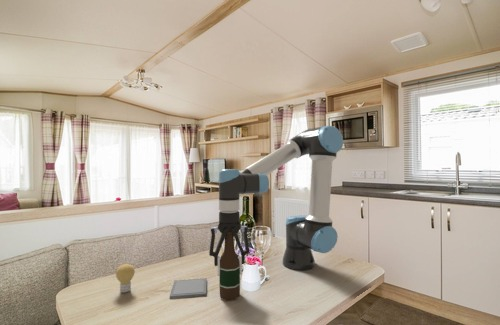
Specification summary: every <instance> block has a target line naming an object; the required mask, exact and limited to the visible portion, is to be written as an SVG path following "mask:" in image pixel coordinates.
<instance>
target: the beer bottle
mask: <svg viewBox="0 0 500 325" xmlns="http://www.w3.org/2000/svg"><path fill="white" fill-rule="evenodd" d="M232 234H233V232H232V231H227V236H226V237H225V239H224V246H223V252H222V253H221V255H220V276H218V277H219V280H218V281H219V296H220V300H224V301H227V302H228V301H229V302H230V301H235V300H236V299H238V298H239V297H240V296H241V278H240V277H241V274H240V263H239V255H238V254H237V253H236V250H235V237H233V236H232Z"/></svg>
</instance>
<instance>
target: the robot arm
mask: <svg viewBox="0 0 500 325" xmlns="http://www.w3.org/2000/svg"><path fill="white" fill-rule="evenodd" d="M343 146H344V138H343V135H342V133H341V132H340V130H339V129H338V128H337V127H335V126H333V125H323V126H321V127H316V128H315V127H314V128H308V129H305V130H303V131H302V132H299V133H298V134H296V135H294V136H293V137H292V138H290V139H288V140H287V141H286V144H284V145H282V146H281V147H279V148H278V149H276V150H274V151H273V152H271V153H269V154H267V155H266V156H263V157H262V158H261V159H259V160H257V161H256V162H254V163H252V164H251V165H249V166H247V167H246V168H244V169H242V170H239V168H237V169H236V168H231V169H230V168H223V169H220V170H219V174H218V210H219V212H218V225H217V226H211V227H210V235H211V236H210V237H211V238H210V245H209V254H208V255H209V256H210V257H213V258H214V259H213V260H214V262H213V263H214V267H217V268H216V269H217V276H218V277H219V276H220V258H221V255H220V254H219V253H220V251H221V248H222V246H223V243H224V242H225V237H226V236H227V231H232V232H233V234H232V236H233V237H234V241H235V243H236V245H237V247H238V250H239V252H240V253H238V259H239V263H240V275H242V274H243V269H242V268H243V265H244V264H245V263H246V262H245V261H246V260H245V259H246V257H245V256H246V255H248V254H250V245H249V238H248V237H249V236H248V231H249V228H248V227H249V226H248V225H241V224H240V221H241V220H240V218H241V217H240V211H239V210H240V195H245V194H246V195H249V194H259V195H260V194H263V193H264V194H265V193H266V192H267V191H268V190H269V188H270V179H269V176H268V175H269V174H272V173H273V172H274V171H276V170H278V169H279V168H280V167H282V166H284V165H285V164H287V163H289V162H291V161H292V160H294V159H299V158H301V157H303V156H305V155H308V157H309V158H310V159H311V160H312V161H311V175H310V176H311V177H310V190H309V191H310V192H309V193H310V194H309V206H308V215H292V216H288V217H286V221H285V237H286V238H285V244H286V245H285V250H284V253H283V257H282V265H283V266H284V267H286V268H287V269H291V270H294V271H295V270H296V271H306V270H311V269H313V268H314V267H315V262H316V261H315V258H314V255H313V251H314V252H316V253H319V254H326V253H327V254H328V253H329V252H331V251H332V250H333V248H335V246H336V244H337V243H338V237H339V236H338V232H337V231H336V229H335V228H334V227H333V219H332V218H331V217H330V209H331V208H330V206H331V193H332V192H331V191H332V190H331V189H332V177H333V176H332V175H333V174H332V172H333V163H334V162H333V161H335V160H336V159H337V154H338V152H340V151H341V149H342V148H343ZM240 230H241V232H242V235H243V243H244V248H243V245H242V243H241V241H240V239H239V238H240V237H239V236H238V233H239V232H240ZM218 231H219V232H220V238H219V240H218V242H217V245H216V247H215V240H216V234H217V232H218ZM214 247H215V251H214Z"/></svg>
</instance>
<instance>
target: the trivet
mask: <svg viewBox="0 0 500 325" xmlns="http://www.w3.org/2000/svg"><path fill="white" fill-rule="evenodd" d="M207 281H208V279H207V277H205V278H203V277H202V278H192V279H177V280H174V281H173V283H172V288H171V291H170V293H169V299H180V298H191V297H204V296H207V283H208V282H207Z"/></svg>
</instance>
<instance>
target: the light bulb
mask: <svg viewBox="0 0 500 325" xmlns="http://www.w3.org/2000/svg"><path fill="white" fill-rule="evenodd" d="M135 273H136V270H135V268H134V266H133V265H132V264H128V263H126V264H122V265H120V266H119V267H118V268H117V270H116V272H115V276H116V279H117V281H119V283H120V284H119V288H120V289H119V292H121V293H124V294H125V293H128V292H130V290H132V285H131V284H132V282H131V281H132V279H133V277H134V276H135Z"/></svg>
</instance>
